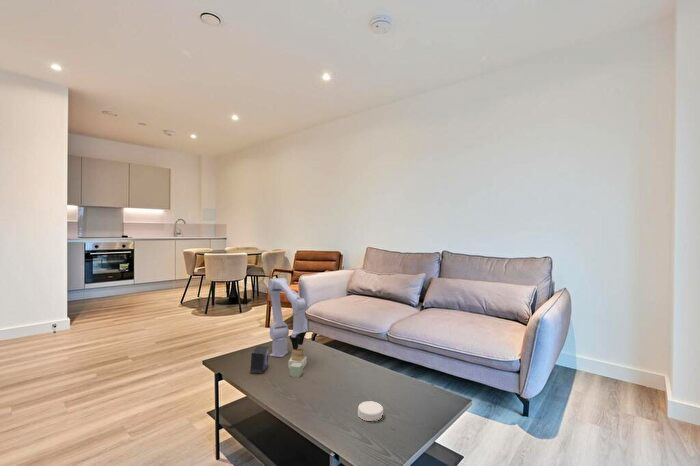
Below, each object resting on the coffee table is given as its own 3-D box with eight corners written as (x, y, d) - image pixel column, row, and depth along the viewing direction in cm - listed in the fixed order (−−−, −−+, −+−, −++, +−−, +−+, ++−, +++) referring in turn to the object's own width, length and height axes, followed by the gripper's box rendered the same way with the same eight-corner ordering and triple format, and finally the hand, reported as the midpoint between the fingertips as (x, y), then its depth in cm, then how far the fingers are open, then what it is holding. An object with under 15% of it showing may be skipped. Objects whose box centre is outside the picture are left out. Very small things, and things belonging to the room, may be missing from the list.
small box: (262, 374, 164) (263, 353, 164) (249, 373, 164) (250, 352, 164) (268, 365, 174) (269, 346, 174) (256, 365, 174) (257, 345, 174)
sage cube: (293, 372, 168) (293, 362, 168) (302, 373, 167) (303, 363, 167) (289, 376, 163) (289, 366, 163) (299, 377, 162) (299, 367, 162)
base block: (292, 362, 180) (292, 355, 180) (306, 363, 179) (306, 356, 179) (288, 368, 172) (288, 361, 172) (303, 369, 171) (303, 362, 171)
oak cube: (294, 356, 179) (295, 347, 179) (303, 357, 178) (304, 348, 178) (291, 360, 174) (291, 350, 174) (300, 361, 173) (300, 351, 173)
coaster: (367, 406, 137) (368, 398, 137) (387, 415, 131) (388, 406, 131) (352, 416, 129) (353, 407, 129) (373, 426, 123) (373, 416, 123)
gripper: (301, 325, 168) (300, 352, 168) (310, 319, 182) (309, 343, 182) (288, 324, 170) (287, 350, 170) (298, 317, 184) (297, 342, 184)
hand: (297, 347), depth 176 cm, fingers open, 7 cm apart
